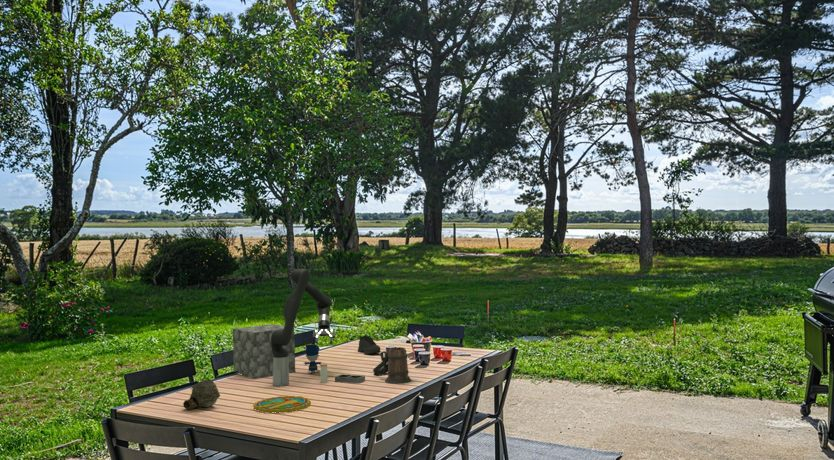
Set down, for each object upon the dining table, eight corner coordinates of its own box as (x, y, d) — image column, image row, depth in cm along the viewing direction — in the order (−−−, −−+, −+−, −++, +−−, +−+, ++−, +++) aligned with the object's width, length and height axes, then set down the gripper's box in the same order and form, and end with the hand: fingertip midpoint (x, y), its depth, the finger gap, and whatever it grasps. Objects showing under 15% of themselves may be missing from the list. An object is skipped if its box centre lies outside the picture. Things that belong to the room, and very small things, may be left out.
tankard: (416, 379, 410) (416, 347, 410) (402, 384, 396) (402, 351, 396) (385, 376, 422) (384, 345, 422) (370, 381, 407) (369, 349, 407)
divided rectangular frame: (358, 383, 403) (358, 378, 403) (334, 381, 410) (334, 376, 410) (365, 380, 410) (364, 375, 410) (341, 379, 417) (341, 374, 417)
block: (254, 379, 424) (253, 332, 424) (233, 373, 446) (232, 328, 447) (295, 372, 444) (294, 327, 444) (273, 366, 466) (272, 324, 466)
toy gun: (404, 365, 440) (393, 347, 436) (408, 366, 436) (397, 348, 432) (381, 386, 430) (369, 369, 426) (385, 388, 426) (373, 370, 422)
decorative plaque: (277, 412, 331) (241, 403, 350) (277, 417, 331) (241, 408, 350) (322, 399, 354) (286, 392, 373) (322, 404, 354) (286, 397, 373)
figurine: (323, 371, 442) (323, 341, 442) (320, 374, 432) (319, 344, 432) (305, 371, 443) (304, 342, 443) (301, 374, 433) (300, 344, 434)
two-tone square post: (327, 382, 408) (326, 364, 408) (320, 382, 407) (320, 364, 407) (327, 381, 412) (327, 363, 412) (321, 381, 411) (320, 363, 411)
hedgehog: (216, 373, 360) (192, 373, 348) (224, 395, 352) (200, 396, 341) (198, 393, 366) (174, 394, 355) (206, 415, 359) (182, 417, 347)
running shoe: (371, 356, 494) (370, 338, 494) (352, 351, 519) (352, 334, 519) (384, 355, 500) (383, 337, 500) (365, 349, 525) (365, 332, 526)
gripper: (312, 319, 429) (312, 340, 418) (334, 318, 431) (334, 339, 419) (313, 326, 435) (313, 347, 423) (335, 325, 436) (335, 346, 425)
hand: (323, 343), depth 421 cm, fingers open, 8 cm apart
